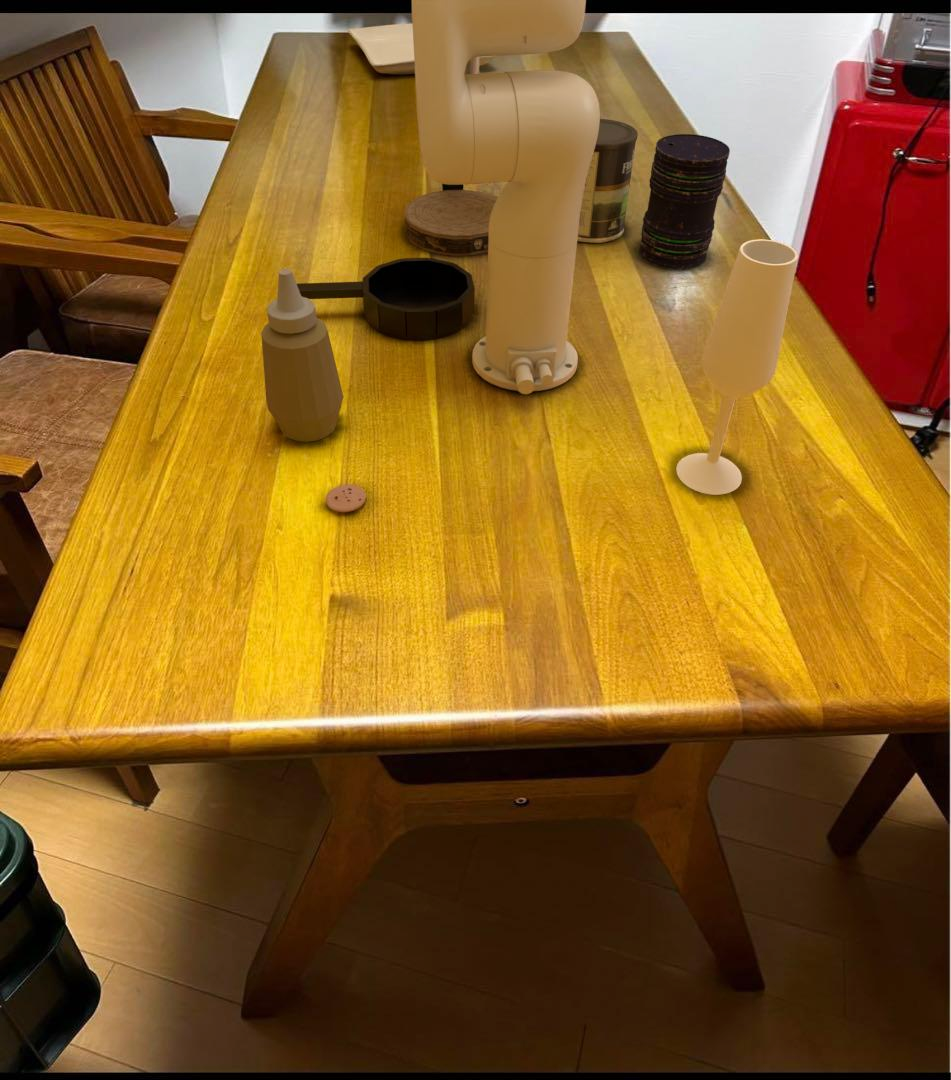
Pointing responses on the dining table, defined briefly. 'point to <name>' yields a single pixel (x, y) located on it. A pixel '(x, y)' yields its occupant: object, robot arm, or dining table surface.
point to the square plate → (391, 48)
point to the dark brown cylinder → (683, 200)
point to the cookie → (345, 498)
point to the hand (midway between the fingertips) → (452, 192)
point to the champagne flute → (742, 350)
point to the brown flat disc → (450, 222)
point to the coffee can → (607, 183)
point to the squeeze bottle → (299, 366)
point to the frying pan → (408, 297)
